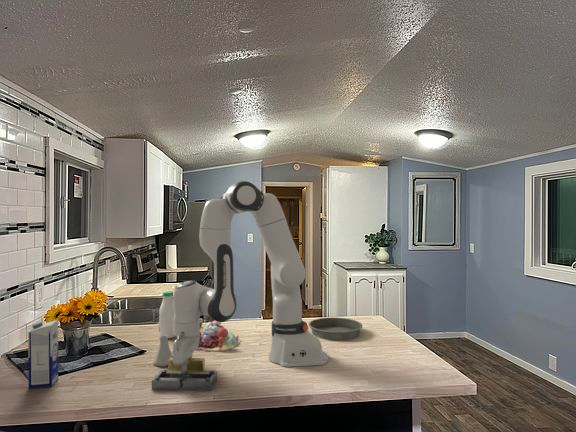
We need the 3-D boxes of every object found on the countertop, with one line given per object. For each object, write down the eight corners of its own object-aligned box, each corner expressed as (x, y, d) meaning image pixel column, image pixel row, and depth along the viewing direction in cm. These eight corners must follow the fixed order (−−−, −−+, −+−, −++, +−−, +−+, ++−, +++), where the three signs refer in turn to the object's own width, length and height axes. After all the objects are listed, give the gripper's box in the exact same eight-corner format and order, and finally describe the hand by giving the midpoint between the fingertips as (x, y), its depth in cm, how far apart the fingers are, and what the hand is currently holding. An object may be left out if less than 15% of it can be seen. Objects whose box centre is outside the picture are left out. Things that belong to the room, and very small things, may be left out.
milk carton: (51, 386, 139) (51, 324, 138) (28, 388, 137) (27, 325, 137) (58, 378, 146) (58, 319, 145) (36, 380, 144) (35, 320, 144)
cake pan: (298, 336, 195) (298, 326, 195) (323, 324, 216) (323, 315, 216) (349, 345, 182) (349, 334, 182) (370, 331, 203) (370, 321, 203)
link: (187, 380, 144) (187, 370, 144) (179, 390, 136) (179, 379, 136) (160, 379, 144) (160, 369, 144) (151, 389, 136) (151, 378, 136)
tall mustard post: (204, 372, 151) (204, 358, 151) (202, 375, 148) (202, 360, 148) (170, 371, 152) (170, 357, 151) (168, 374, 149) (168, 360, 149)
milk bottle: (180, 335, 195) (180, 291, 195) (167, 340, 189) (167, 294, 188) (168, 333, 199) (168, 289, 199) (155, 337, 193) (155, 292, 193)
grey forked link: (217, 380, 143) (217, 370, 143) (211, 390, 135) (211, 380, 135) (190, 380, 144) (190, 370, 144) (183, 390, 136) (183, 379, 136)
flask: (163, 368, 155) (163, 340, 154) (149, 365, 158) (149, 337, 158) (178, 362, 161) (178, 335, 161) (164, 359, 165) (164, 332, 164)
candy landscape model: (171, 350, 176) (171, 327, 176) (194, 334, 199) (194, 313, 199) (231, 353, 172) (231, 330, 172) (247, 336, 195) (247, 316, 195)
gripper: (186, 337, 139) (186, 380, 139) (202, 321, 160) (202, 358, 160) (167, 337, 140) (167, 380, 140) (185, 321, 160) (186, 358, 160)
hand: (186, 368), depth 150 cm, fingers closed on tall mustard post, 3 cm apart
